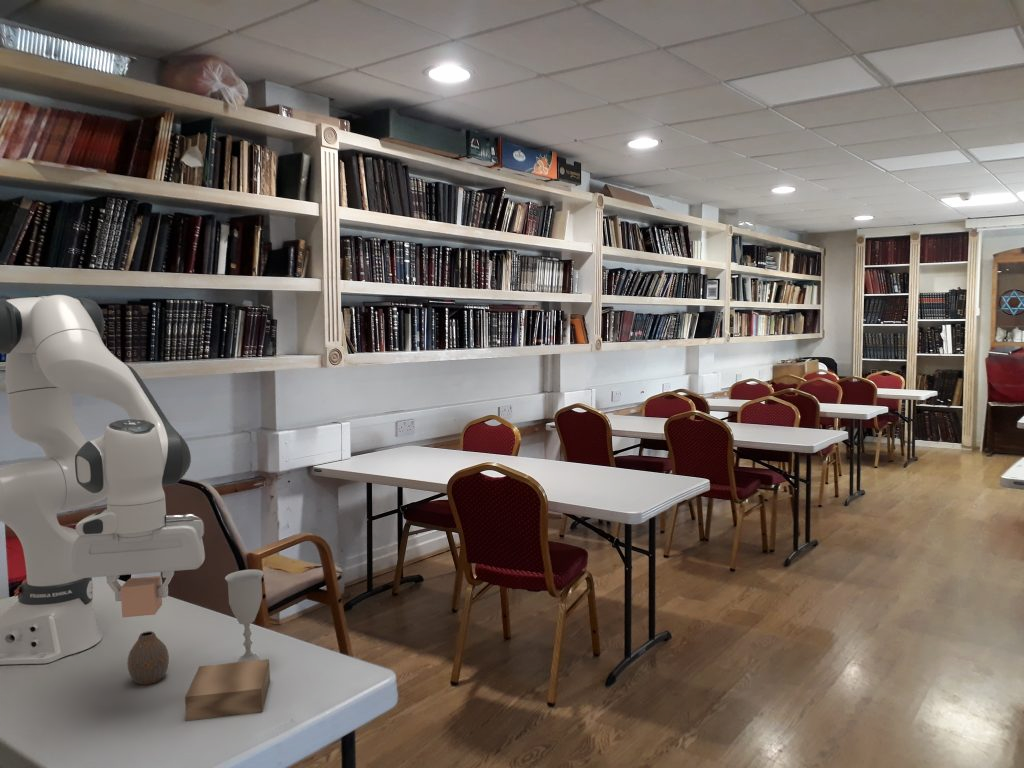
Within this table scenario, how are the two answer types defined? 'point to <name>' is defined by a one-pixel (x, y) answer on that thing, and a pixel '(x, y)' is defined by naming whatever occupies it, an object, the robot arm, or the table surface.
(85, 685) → the table surface
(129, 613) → the block
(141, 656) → the vase
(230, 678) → the board
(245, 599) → the chalice
